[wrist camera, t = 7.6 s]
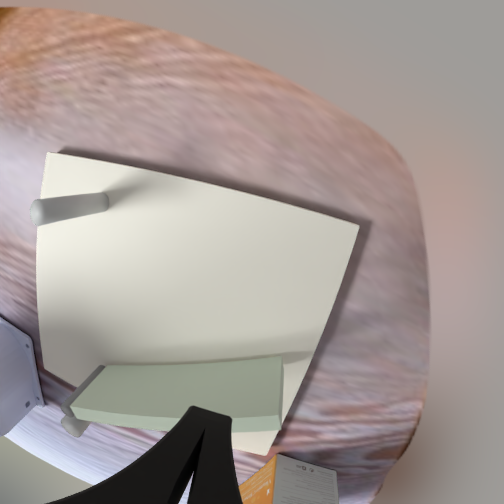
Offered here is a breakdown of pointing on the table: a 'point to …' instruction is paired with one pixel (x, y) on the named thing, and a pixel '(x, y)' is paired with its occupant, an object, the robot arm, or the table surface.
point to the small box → (290, 484)
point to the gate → (182, 394)
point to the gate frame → (178, 275)
